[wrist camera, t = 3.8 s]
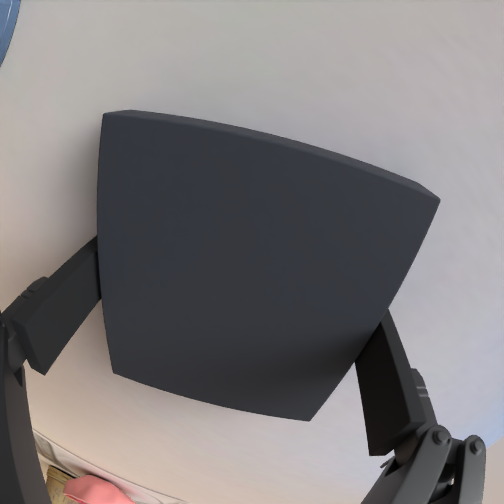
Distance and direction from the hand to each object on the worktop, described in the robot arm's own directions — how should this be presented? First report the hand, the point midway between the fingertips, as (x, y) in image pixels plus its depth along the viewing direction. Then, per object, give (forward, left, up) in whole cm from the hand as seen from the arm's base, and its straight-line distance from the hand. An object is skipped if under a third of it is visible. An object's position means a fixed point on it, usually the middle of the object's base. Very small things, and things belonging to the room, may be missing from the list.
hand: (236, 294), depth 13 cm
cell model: (+61, -17, 0) cm, 63 cm away
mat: (0, 0, 0) cm, 0 cm away
